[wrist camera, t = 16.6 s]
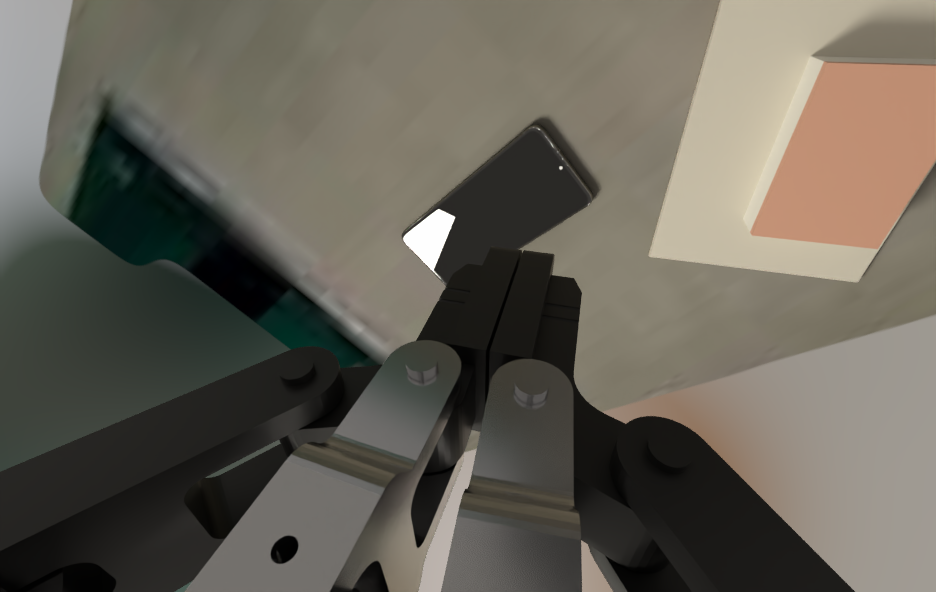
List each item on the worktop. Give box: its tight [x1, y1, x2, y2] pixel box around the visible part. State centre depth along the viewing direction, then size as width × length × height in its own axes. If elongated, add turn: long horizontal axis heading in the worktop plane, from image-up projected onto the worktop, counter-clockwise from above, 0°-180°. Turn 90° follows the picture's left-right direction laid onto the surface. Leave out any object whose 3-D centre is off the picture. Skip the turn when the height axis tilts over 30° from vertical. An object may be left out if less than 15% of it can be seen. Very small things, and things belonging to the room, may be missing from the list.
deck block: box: [743, 56, 936, 249], centre depth 25 cm, size 10×2×7 cm
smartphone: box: [402, 125, 593, 285], centre depth 35 cm, size 7×1×16 cm
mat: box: [649, 0, 936, 282], centre depth 27 cm, size 17×14×1 cm
